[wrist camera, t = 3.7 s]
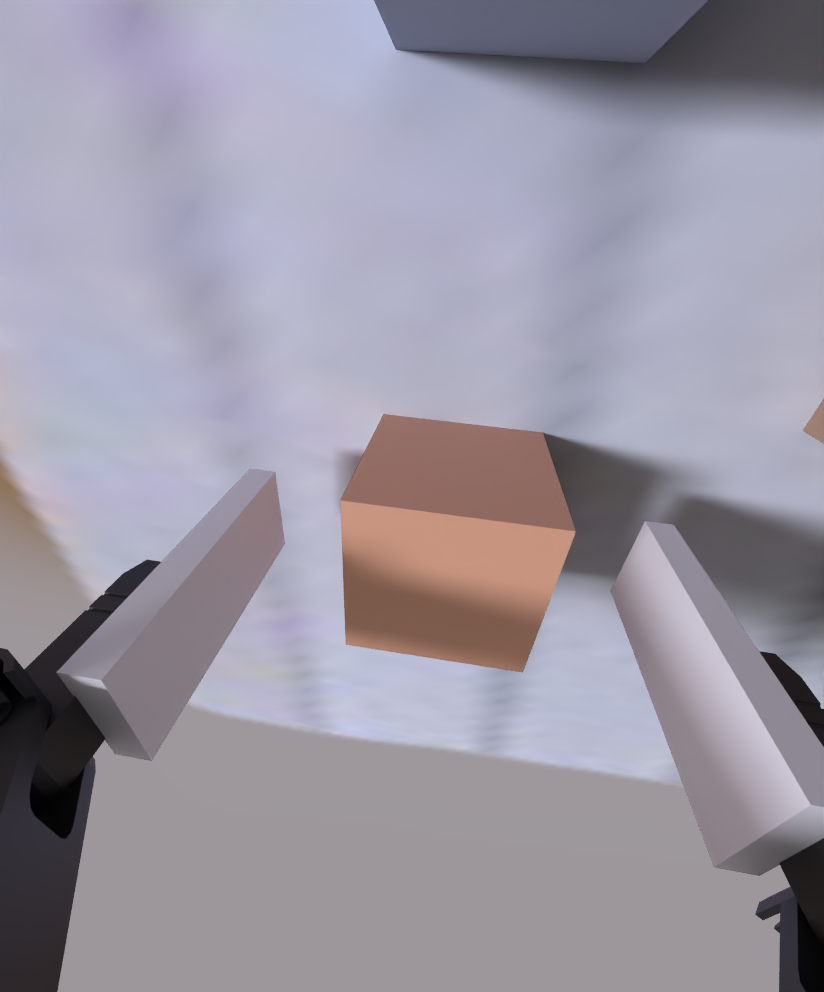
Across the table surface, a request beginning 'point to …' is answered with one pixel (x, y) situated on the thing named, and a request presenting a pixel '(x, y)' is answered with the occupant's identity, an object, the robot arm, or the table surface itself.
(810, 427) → the walnut cube
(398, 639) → the terracotta cube
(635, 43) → the slate rectangular block
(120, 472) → the table surface
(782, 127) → the table surface
